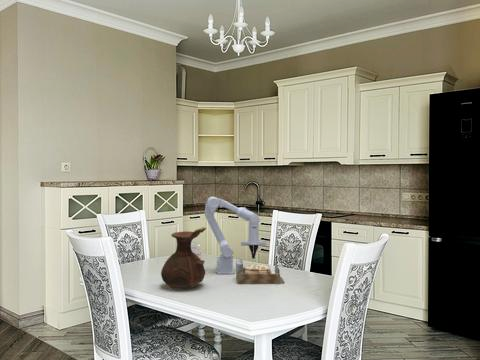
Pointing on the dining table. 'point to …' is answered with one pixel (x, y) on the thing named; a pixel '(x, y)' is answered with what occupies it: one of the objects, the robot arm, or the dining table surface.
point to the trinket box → (256, 269)
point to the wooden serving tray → (254, 276)
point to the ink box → (196, 248)
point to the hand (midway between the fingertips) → (253, 258)
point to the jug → (183, 263)
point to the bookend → (278, 273)
